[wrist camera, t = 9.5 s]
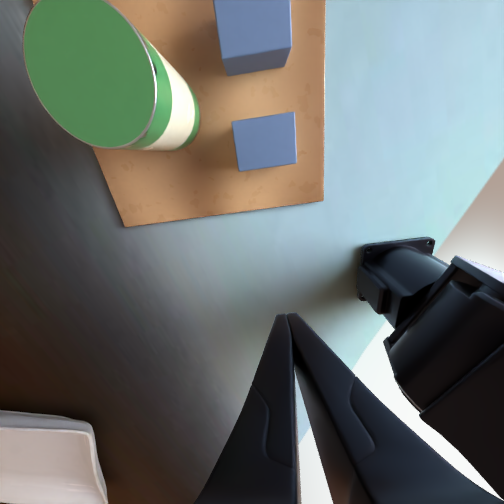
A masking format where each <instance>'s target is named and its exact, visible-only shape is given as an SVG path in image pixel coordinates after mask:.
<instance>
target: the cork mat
mask: <svg viewBox="0 0 504 504" xmlns="http://www.w3.org/2000/svg"><path fill="white" fill-rule="evenodd" d="M32 1H33V3H34V4H35V3H36V2H37V1H38V0H32ZM107 1H108V2H110V3H111V4H112V5H113V6H115V7H116V8H117V9H118V10H119V11H120V12H121V13H122V14H123V15H124V16H125V17H126V18H127V19H128V20H129V21H130V22H131V23H132V24H133V25H134V26H135V27H136V28H137V29H138V31H139V32H140V33H141V34H142V35H143V36H144V37H145V38H146V39H147V40H148V41H149V42H150V43H151V44H152V45H153V46H154V47H155V48H156V50H157V51H158V52H159V53H160V54H161V55H162V56H163V57H164V58H165V59H166V60H167V61H168V62H169V64H170V65H171V66H172V67H173V68H174V69H175V70H176V71H177V72H178V73H179V74H180V76H181V77H182V78H183V79H184V80H185V81H186V82H187V83H188V84H189V86H190V87H191V88H192V90H193V91H194V93H195V95H196V97H197V100H198V103H199V107H200V112H201V122H200V128H199V131H198V134H197V136H196V137H195V139H194V140H193V142H192V143H191V144H190V145H188V146H187V147H185V148H183V149H181V150H177V151H148V150H118V149H102V148H97V147H94V146H92V147H93V150H94V152H95V155H96V157H97V160H98V162H99V164H100V167H101V169H102V172H103V174H104V177H105V179H106V182H107V184H108V186H109V189H110V191H111V194H112V196H113V199H114V201H115V203H116V206H117V208H118V211H119V213H120V216H121V218H122V221H123V223H124V225H125V227H130V226H138V225H145V224H153V223H161V222H168V221H176V220H183V219H191V218H198V217H206V216H213V215H221V214H228V213H236V212H243V211H251V210H258V209H266V208H273V207H281V206H288V205H296V204H303V203H311V202H318V201H323V200H324V104H325V0H290V4H291V29H292V48H291V51H290V53H289V56H288V59H287V61H286V64H285V66H284V67H280V68H274V69H268V70H262V71H257V72H251V73H245V74H239V75H233V76H227V74H226V71H225V67H224V64H223V61H222V58H221V52H220V45H219V39H218V32H217V26H216V19H215V12H214V6H213V0H107ZM287 112H295V127H296V151H297V163H296V164H290V165H283V166H276V167H269V168H262V169H255V170H248V171H242V172H239V170H238V164H237V157H236V151H235V144H234V138H233V131H232V124H231V122H232V121H237V120H243V119H249V118H256V117H262V116H268V115H275V114H281V113H287Z"/></svg>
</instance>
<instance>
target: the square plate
mask: <svg viewBox="0 0 504 504" xmlns="http://www.w3.org/2000/svg"><path fill="white" fill-rule="evenodd" d="M0 502H3V503H13V504H108V499H107V492H106V485H105V480H104V477H103V475H102V471H101V468H100V464H99V461H98V456H97V451H96V442H95V436H94V432H93V428H92V426H91V425H90V424H89V423H88V422H85V421H80V420H73V419H71V418H67V417H63V416H57V415H47V414H36V413H25V412H14V411H3V410H0Z"/></svg>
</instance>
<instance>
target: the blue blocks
mask: <svg viewBox="0 0 504 504" xmlns="http://www.w3.org/2000/svg"><path fill="white" fill-rule="evenodd" d="M213 6H214V12H215V19H216V26H217V32H218V39H219V45H220V52H221V58H222V61H223V64H224V67H225V71H226V74H227V76H233V75H239V74H245V73H251V72H257V71H262V70H268V69H274V68H280V67H284V66H285V64H286V61H287V59H288V56H289V53H290V51H291V48H292V29H291V4H290V0H213ZM231 124H232V131H233V138H234V144H235V151H236V157H237V164H238V170H239V172H242V171H248V170H255V169H262V168H269V167H276V166H283V165H290V164H296V163H297V151H296V127H295V112H287V113H281V114H275V115H268V116H262V117H256V118H249V119H243V120H237V121H232V122H231Z"/></svg>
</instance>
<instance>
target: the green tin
mask: <svg viewBox="0 0 504 504" xmlns="http://www.w3.org/2000/svg"><path fill="white" fill-rule="evenodd" d="M23 56H24V62H25V66H26V70H27V73H28V77H29V80H30V82H31V85H32V87H33V89H34V91H35V93H36V95H37V97H38V99H39V100H40V102H41V104H42V105H43V107H44V108H45V109H46V111H47V112H48V113H49V115H50V116H51V117H52V118H53V119H54V120H55V121H56V123H57V124H58V125H60V126H61V127H62V128H63V129H64V130H65V131H66V132H68V133H69V134H70V135H72V136H73V137H75V138H76V139H78V140H80V141H82V142H84V143H86V144H88V145H91V146H94V147H97V148H102V149H118V150H148V151H177V150H181V149H183V148H185V147H187V146H188V145H190V144H191V143H192V142H193V140H194V139H195V137H196V136H197V134H198V131H199V128H200V122H201V112H200V107H199V103H198V100H197V97H196V95H195V93H194V91H193V90H192V88H191V87H190V86H189V84H188V83H187V82H186V81H185V80H184V79H183V78H182V77H181V76H180V74H179V73H178V72H177V71H176V70H175V69H174V68H173V67H172V66H171V65H170V64H169V62H168V61H167V60H166V59H165V58H164V57H163V56H162V55H161V54H160V53H159V52H158V51H157V50H156V48H155V47H154V46H153V45H152V44H151V43H150V42H149V41H148V40H147V39H146V38H145V37H144V36H143V35H142V34H141V33H140V32H139V31H138V29H137V28H136V27H135V26H134V25H133V24H132V23H131V22H130V21H129V20H128V19H127V18H126V17H125V16H124V15H123V14H122V13H121V12H120V11H119V10H118V9H117V8H116V7H115V6H113V5H112V4H111V3H110V2H108V1H107V0H38V1H37V2H36V3H35V4H34V6H33V7H32V8H31V10H30V12H29V14H28V16H27V19H26V23H25V26H24V32H23Z"/></svg>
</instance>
